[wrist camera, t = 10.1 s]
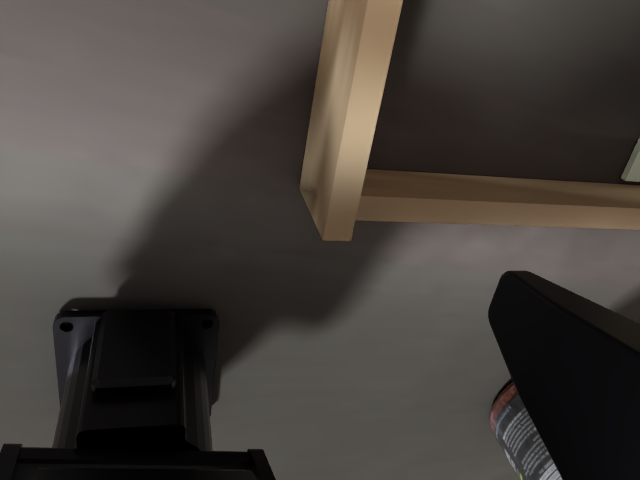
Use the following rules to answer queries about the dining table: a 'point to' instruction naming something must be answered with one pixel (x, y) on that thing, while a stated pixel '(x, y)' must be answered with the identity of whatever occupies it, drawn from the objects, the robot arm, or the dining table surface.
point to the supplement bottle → (520, 438)
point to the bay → (416, 187)
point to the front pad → (633, 165)
